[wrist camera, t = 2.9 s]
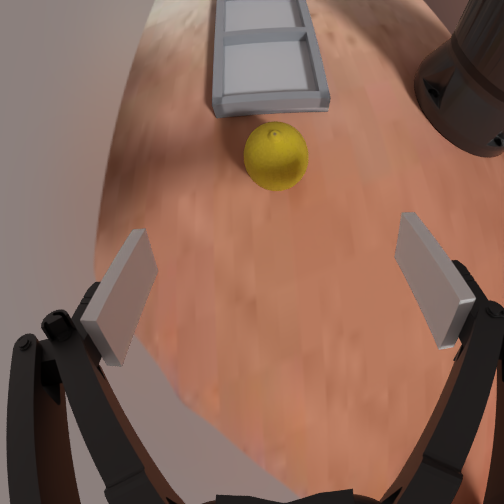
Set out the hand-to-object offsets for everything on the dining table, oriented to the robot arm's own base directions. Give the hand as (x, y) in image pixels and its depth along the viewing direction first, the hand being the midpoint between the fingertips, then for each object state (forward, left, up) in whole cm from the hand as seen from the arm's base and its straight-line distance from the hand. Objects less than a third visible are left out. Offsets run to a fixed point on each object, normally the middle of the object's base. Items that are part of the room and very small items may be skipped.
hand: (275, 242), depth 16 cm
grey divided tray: (-23, -17, -13) cm, 31 cm away
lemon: (-8, -5, -14) cm, 17 cm away
